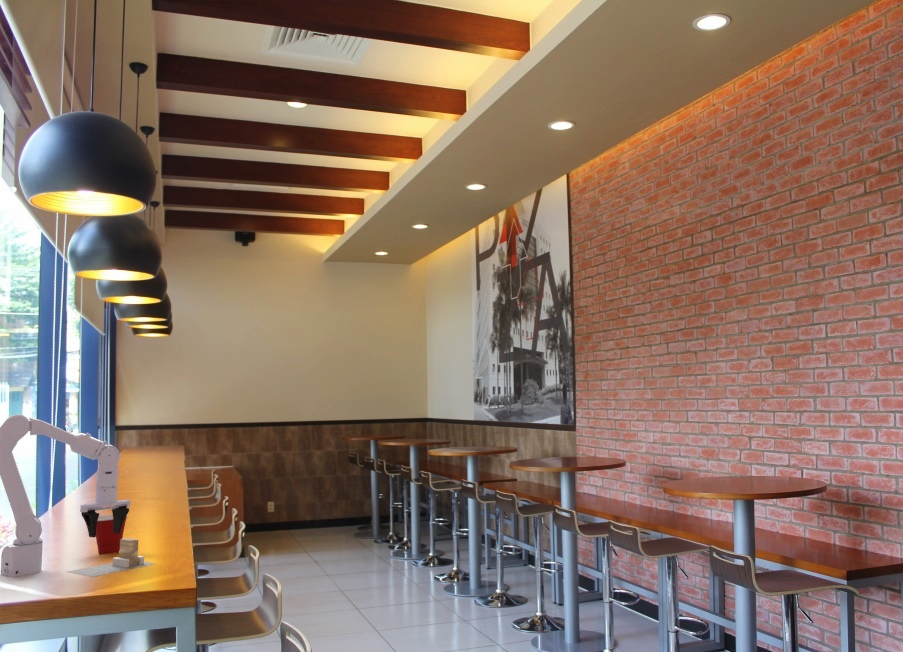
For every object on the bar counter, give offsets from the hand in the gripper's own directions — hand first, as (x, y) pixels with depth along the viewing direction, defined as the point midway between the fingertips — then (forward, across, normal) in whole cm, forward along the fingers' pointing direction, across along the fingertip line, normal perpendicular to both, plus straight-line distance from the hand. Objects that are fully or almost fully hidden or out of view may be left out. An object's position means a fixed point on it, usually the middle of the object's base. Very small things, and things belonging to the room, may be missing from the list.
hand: (104, 535), depth 226 cm
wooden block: (+8, +4, -6) cm, 11 cm away
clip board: (+9, -1, -6) cm, 11 cm away
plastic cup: (+9, +13, +17) cm, 24 cm away
